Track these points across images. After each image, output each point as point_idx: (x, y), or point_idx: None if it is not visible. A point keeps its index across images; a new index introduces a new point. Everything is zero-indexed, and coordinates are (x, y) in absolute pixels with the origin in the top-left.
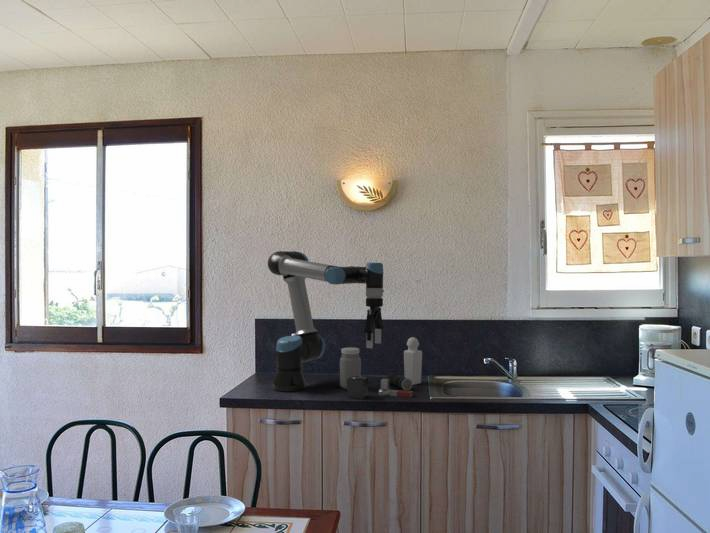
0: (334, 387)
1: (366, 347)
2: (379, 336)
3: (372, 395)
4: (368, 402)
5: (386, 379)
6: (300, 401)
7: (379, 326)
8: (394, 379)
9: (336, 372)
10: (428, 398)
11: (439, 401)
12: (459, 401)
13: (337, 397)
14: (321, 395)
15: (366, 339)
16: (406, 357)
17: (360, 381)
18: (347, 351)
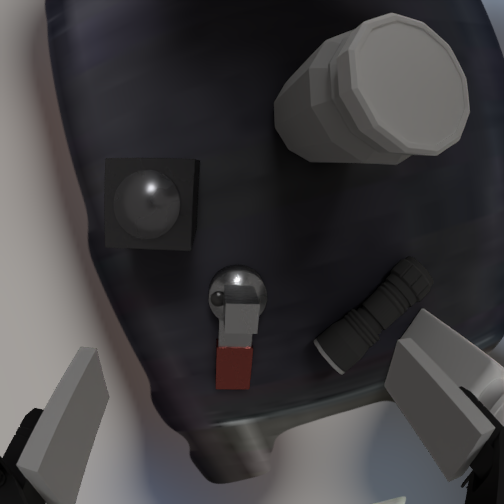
0: (296, 54)
1: (79, 351)
2: (417, 419)
3: (202, 248)
4: (96, 263)
5: (244, 324)
6: (49, 31)
7: (471, 493)
8: (378, 303)
9: (495, 50)
10: (226, 419)
11: (203, 442)
12: (222, 470)
13: (126, 119)
14: (142, 49)
15: (49, 404)
16: (469, 363)
17: (107, 234)
18: (345, 65)
